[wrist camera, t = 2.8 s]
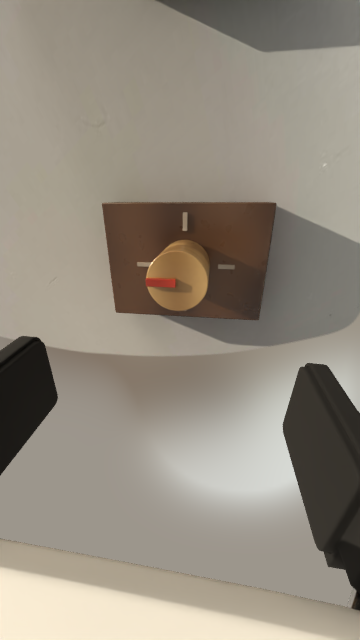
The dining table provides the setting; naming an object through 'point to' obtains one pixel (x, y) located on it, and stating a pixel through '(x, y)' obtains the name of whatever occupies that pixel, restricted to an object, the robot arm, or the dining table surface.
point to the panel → (203, 228)
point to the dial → (179, 276)
